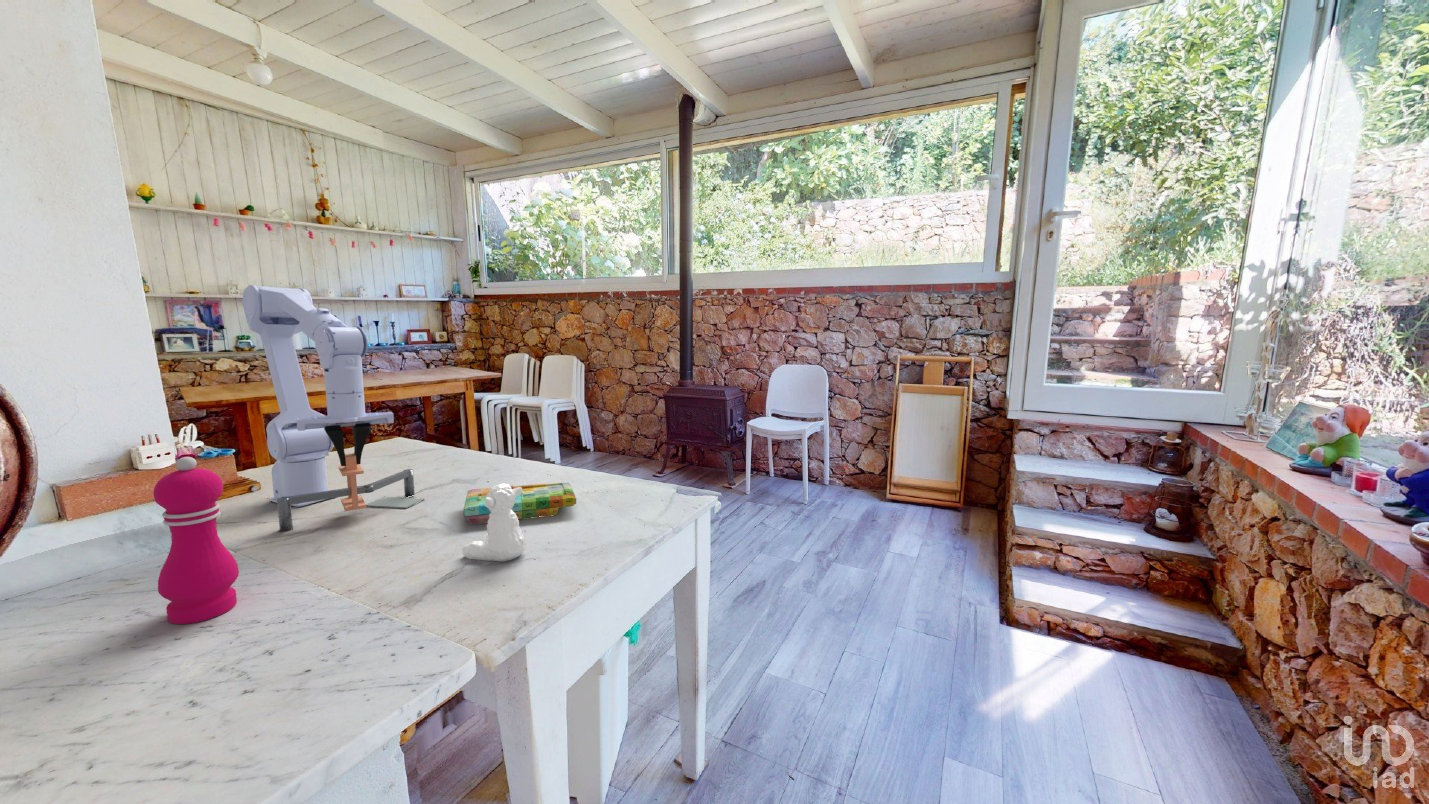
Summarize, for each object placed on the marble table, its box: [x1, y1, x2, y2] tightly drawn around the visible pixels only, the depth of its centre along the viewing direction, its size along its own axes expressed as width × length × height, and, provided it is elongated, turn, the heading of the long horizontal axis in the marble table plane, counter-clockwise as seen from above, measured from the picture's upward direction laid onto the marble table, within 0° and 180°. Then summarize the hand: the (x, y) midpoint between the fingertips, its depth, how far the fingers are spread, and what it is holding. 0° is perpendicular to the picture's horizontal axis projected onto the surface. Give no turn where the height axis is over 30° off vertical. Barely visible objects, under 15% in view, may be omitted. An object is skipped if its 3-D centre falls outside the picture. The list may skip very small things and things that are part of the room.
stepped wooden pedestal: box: [337, 452, 367, 512], centre depth 97 cm, size 3×7×10 cm, turn 41°
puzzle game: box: [463, 481, 577, 525], centre depth 103 cm, size 12×5×20 cm
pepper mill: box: [152, 456, 240, 625], centre depth 64 cm, size 7×7×20 cm
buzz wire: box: [276, 468, 415, 533], centre depth 101 cm, size 8×24×6 cm, turn 160°
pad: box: [365, 496, 424, 510], centre depth 107 cm, size 6×9×1 cm, turn 85°
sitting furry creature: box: [461, 482, 526, 563], centre depth 83 cm, size 10×9×12 cm
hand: (350, 464), depth 97 cm, fingers closed on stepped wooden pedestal, 2 cm apart
